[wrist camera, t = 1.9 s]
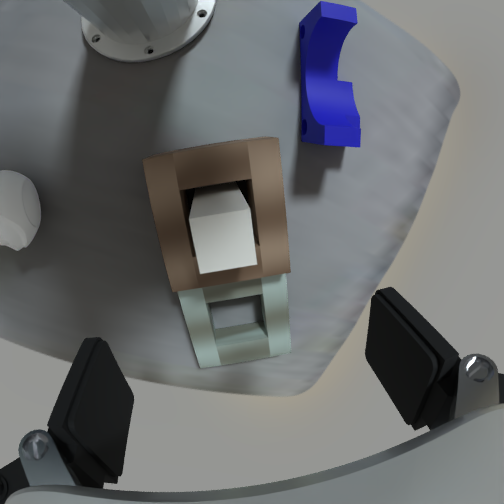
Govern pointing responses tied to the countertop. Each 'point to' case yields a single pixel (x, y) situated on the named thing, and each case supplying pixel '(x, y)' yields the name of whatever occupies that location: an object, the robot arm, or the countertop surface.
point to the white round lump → (18, 210)
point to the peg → (222, 228)
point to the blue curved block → (327, 78)
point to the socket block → (231, 280)
